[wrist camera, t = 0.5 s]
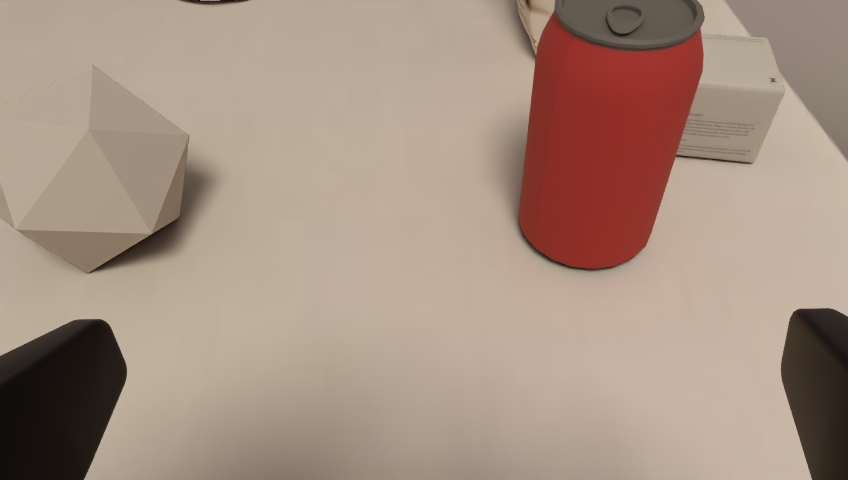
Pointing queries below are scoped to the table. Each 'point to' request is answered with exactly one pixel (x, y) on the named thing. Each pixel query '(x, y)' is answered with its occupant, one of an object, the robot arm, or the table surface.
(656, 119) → the beer can
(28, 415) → the robot arm
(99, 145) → the die
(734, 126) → the small box
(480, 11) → the table surface
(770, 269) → the table surface
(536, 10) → the juice carton
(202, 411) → the table surface
